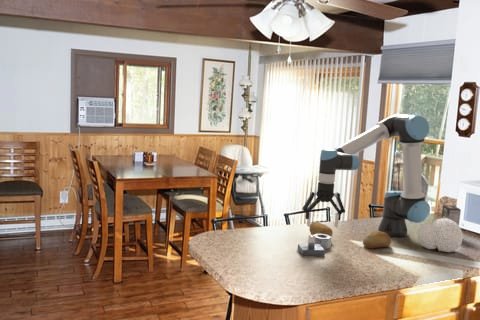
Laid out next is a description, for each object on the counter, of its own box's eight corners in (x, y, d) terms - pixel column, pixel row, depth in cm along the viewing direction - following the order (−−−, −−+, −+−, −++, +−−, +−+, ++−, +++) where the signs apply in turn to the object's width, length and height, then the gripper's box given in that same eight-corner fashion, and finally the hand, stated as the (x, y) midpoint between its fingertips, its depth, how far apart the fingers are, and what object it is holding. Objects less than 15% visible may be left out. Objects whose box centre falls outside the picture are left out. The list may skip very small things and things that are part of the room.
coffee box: (439, 233, 261) (442, 204, 258) (450, 233, 261) (454, 205, 258) (445, 238, 252) (449, 208, 249) (458, 238, 251) (461, 209, 249)
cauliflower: (466, 231, 234) (453, 207, 228) (470, 257, 220) (456, 232, 214) (425, 241, 244) (412, 218, 238) (427, 266, 230) (413, 243, 224)
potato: (322, 244, 229) (323, 228, 228) (304, 236, 241) (305, 221, 240) (337, 242, 234) (338, 226, 233) (319, 234, 246) (320, 219, 245)
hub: (326, 243, 231) (327, 233, 230) (332, 249, 223) (332, 238, 222) (310, 243, 229) (311, 233, 229) (315, 249, 222) (316, 238, 221)
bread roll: (396, 249, 229) (397, 232, 227) (371, 251, 222) (372, 235, 221) (382, 243, 237) (384, 227, 236) (358, 245, 231) (359, 229, 230)
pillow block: (318, 250, 220) (319, 233, 219) (324, 256, 211) (325, 239, 210) (297, 249, 219) (298, 233, 218) (302, 256, 210) (303, 239, 209)
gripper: (349, 181, 227) (344, 224, 230) (298, 179, 224) (294, 223, 227) (354, 184, 220) (350, 229, 223) (302, 182, 216) (298, 227, 219)
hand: (322, 226), depth 225 cm, fingers open, 13 cm apart
